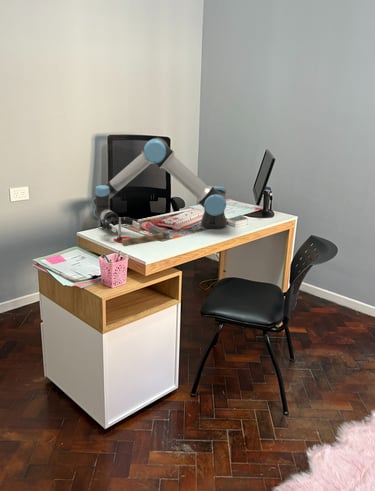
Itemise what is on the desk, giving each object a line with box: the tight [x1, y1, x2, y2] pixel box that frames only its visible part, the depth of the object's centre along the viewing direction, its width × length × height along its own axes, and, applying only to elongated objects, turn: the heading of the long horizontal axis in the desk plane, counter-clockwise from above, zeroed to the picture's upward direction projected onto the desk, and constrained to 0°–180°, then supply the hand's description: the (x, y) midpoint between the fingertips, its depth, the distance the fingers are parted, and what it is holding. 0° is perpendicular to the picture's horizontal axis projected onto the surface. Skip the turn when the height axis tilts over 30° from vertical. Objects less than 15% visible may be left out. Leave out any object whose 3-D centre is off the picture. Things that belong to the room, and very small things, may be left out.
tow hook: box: [113, 216, 132, 244], centre depth 223 cm, size 8×13×9 cm
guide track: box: [121, 225, 170, 247], centre depth 229 cm, size 26×16×3 cm, turn 123°
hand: (127, 228), depth 220 cm, fingers open, 12 cm apart
